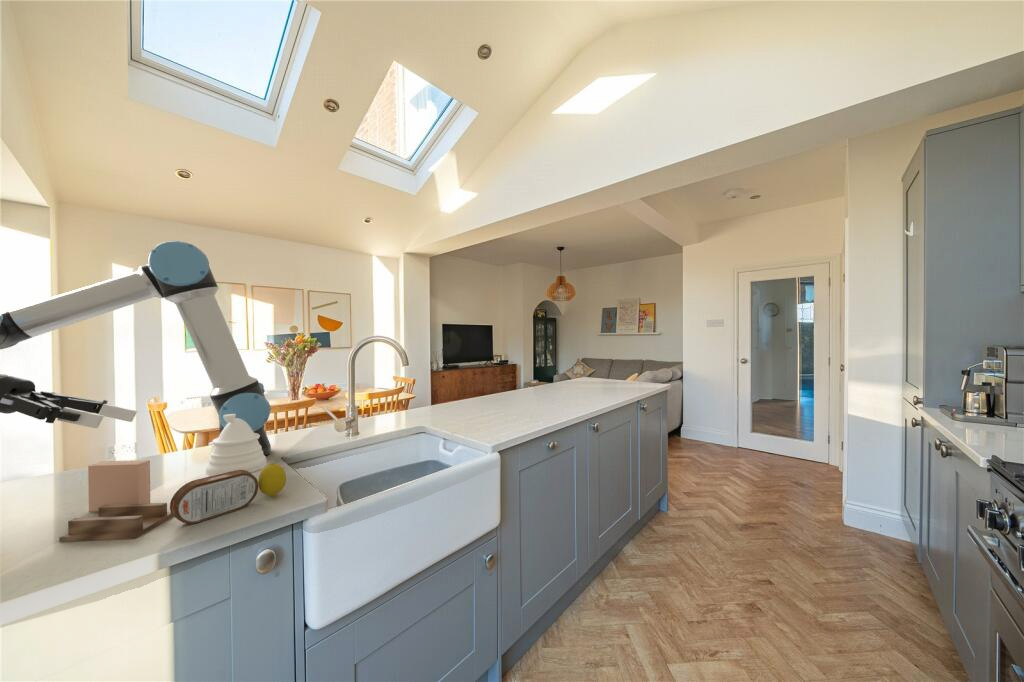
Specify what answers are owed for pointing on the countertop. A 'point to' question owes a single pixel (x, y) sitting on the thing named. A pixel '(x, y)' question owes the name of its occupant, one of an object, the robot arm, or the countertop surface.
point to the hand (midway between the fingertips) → (118, 419)
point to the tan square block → (118, 483)
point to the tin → (213, 496)
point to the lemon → (272, 479)
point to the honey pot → (236, 449)
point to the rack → (117, 522)
